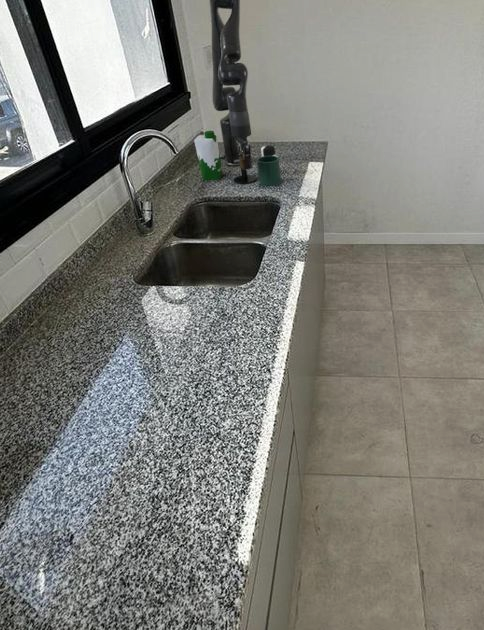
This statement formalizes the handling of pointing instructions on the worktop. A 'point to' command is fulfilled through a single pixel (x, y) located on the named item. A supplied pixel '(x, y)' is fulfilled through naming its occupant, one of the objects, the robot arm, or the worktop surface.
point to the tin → (269, 170)
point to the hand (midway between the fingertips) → (246, 166)
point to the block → (243, 163)
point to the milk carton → (208, 156)
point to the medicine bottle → (268, 151)
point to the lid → (244, 178)
